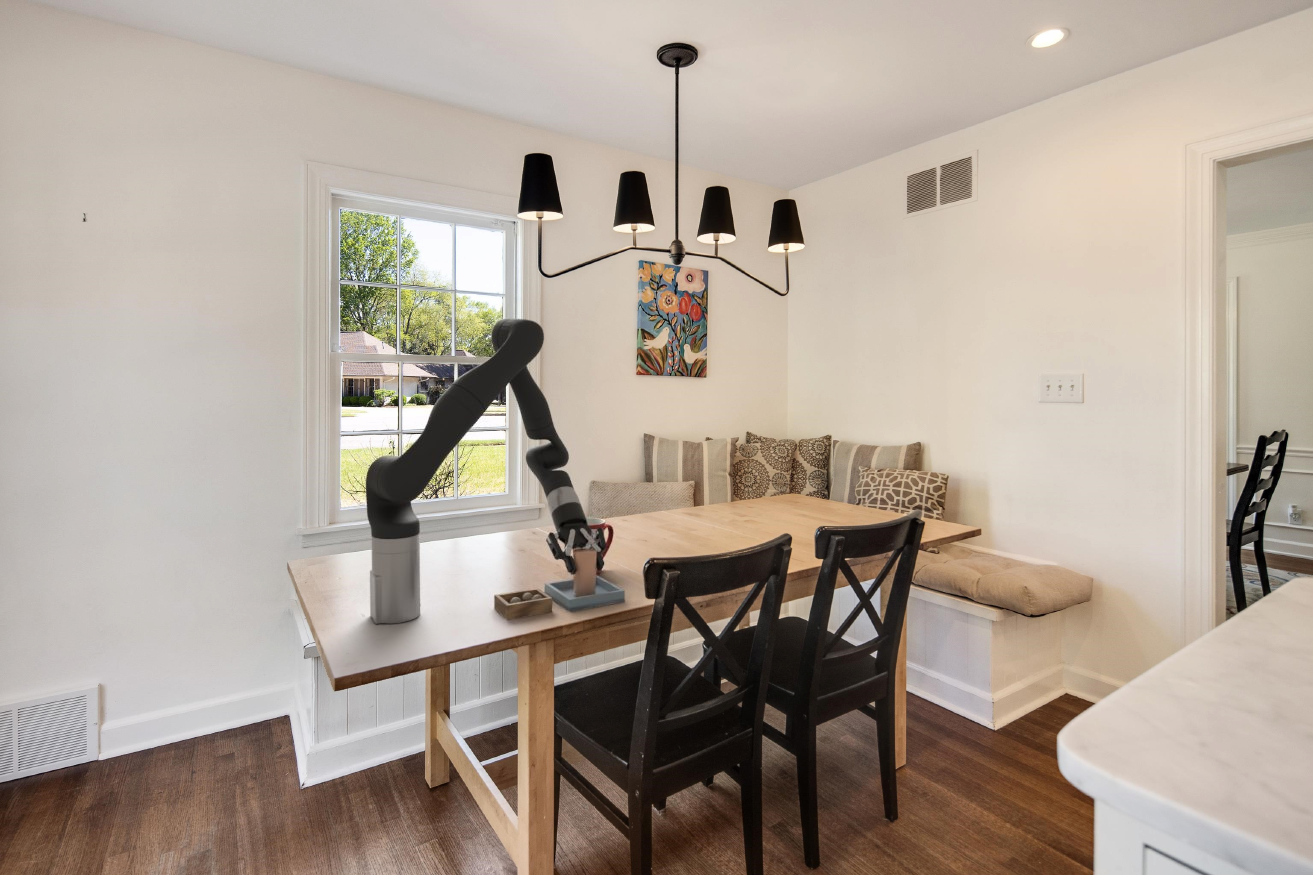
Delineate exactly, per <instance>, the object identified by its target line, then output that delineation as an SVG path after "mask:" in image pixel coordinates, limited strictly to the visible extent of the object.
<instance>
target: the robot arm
mask: <svg viewBox="0 0 1313 875" xmlns="http://www.w3.org/2000/svg"><path fill="white" fill-rule="evenodd" d="M490 339H491V340H490V341H491V345H492V347H493V350H494V354H493V355H492V356H491V357H489V358H488V359H487V360H485V361H484V362H482V363H481V364H478V365H477V366H475V367H473V368H471V369H469V370H468V371H466V372H465V373H464V374H462V375H460V376H459V377H457V378H456V379H455V380H454V381H453V382H452V383H451V384H450V385H449V386H448V387H447V388H446V389H445V391H443V393H442V394H441V395H440V397H438V399H436V401H435V403H434V405H433V406H432V408H431V411H430V414H429V416H428V420H427V422H426V424H425V427H424V429H423V430H422V432H421V434H420V436H418V438H417V439H416V440H415V441H414V442H412V443H413V444H411V446H409V448H407V450H405V452H403V453H402V454H401V455H400V456H399V455H393V454H391V455H388V454H387V455H383V456H379V457H378V458H376V459H375V460H373V462H372V463H371V464H370V466H369V467H368V470H367V472H366V476H365V497H366V498H365V499H366V514H367V517H366V518H367V519H368V520H367V521H368V523H369V526H370V531H371V532H370V533H371V570H369V594H370V595H369V598H370V600H369V603H370V604H369V605H370V606H369V610H370V613H369V614H370V617H371V619H372V621H373V622H374V624H375V625H378V624H399V623H405V622H409V621H412V620H415V619H417V618H418V617H420V615H421V605H422V604H421V546H420V545H421V543H420V542H421V538H420V537H421V536H420V535H421V533H420V532H421V528H420V527H421V526H420V525H421V524H420V520H419V518H418V517H417V516H416V514H415V513H414V510H413V507H412V501H414V500H416V499H417V498H418V497H419V496H420V495H422V493H423V492H424V490H425V489H426V488H427V486H428V485H429V483H431V481H432V479H433V477H434V476H435V475H436V473H437V471H438V470H439V469H440V467H441V465H442V464H443V463H444V462H445V460H446V458H448V456H449V455H450V454H451V452H452V451H453V450H454V449H455V448H456V446H457V445H458V444H459V443H460V442H461V441H462V439H463V438H464V437H465V436H466V434H467V433H468V432H469V431H470V430H471V429H472V427H473V426H475V424H477V422H478V421H479V420H480V418H481V417H482V416H483V415H484V414H485V412H487V410H488V409H489V407H490V406H491V405H492V403H493V402H494V401H495V400H496V399H497V398H498V397H499V395H500V394H501V393H502V392H503V391H504V390H505V388H506V387H507V386H508V385H509V386H510V388H511V390H512V392H513V395H514V397H515V399H516V400H515V401H516V403H517V405H518V408H519V412H520V416H521V419H522V422H523V423H522V424H523V426H524V431H525V434H526V435H527V437H528V438H529V439H530V440H533V441H541V440H544V441H545V440H546V441H549V442H546V443H542V444H538V445H535V446H532V447H530V448H528V450H527V451H526V454H525V461H526V464H527V466H528V468H529V469H530V472H532V474H534V476H535V477H536V478H537V480H538V482H539V483H540V485H541V487H542V490H543V491H544V495H545V497H546V502H547V508H548V511H549V513H550V516H551V520H552V522H553V525H554V528H555V531H556V532H557V533H554V532H549V533H548V535H547V537H546V543H547V546H548V547H549V550H550V551H551V553H552V556H553V558H554V560H557V561H558V560H563V562H564V565H565V568H566V570H567V573H570V575H573V574H575V573H576V571H577V568H576V566H575V563H574V560H573V555H571V554H572V551H573V549H575V548H577V547H578V548H588V549H594V550H596V551H597V558H596V568H597V571H601V570H603V568H604V566H605V561H604V558H602V555H601V554H603V552H604V551H605V549H606V548H607V546H606V541H607V540H606V538H605V532H604V533H603V529H602V528H601V527H599V528H598V529H591V528H590V527H589V526H588V524H587V520H586V518H587V517H586V514H585V512H584V509H583V506H582V504H581V501H580V498H579V495H578V494H577V492H576V490H575V488H574V486H573V485H574V484H573V483H572V481H571V476H570V475H569V474H568V472H567V471H566V470H562V469H561V468H564V467H565V466H567V464H569V459H570V455H569V451H568V449H567V447H566V446H565V444H564V442H563V441H562V439H561V438H560V436H559V434H558V432H557V430H556V428H555V424H554V421H553V417H552V414H551V410H550V406H549V403H548V401H547V398H546V397H545V395H544V392H543V391H542V390H541V388H540V387H539V386H538V384H537V383H536V381H535V379H534V378H533V376H532V374H531V372H530V371H529V369H528V368H529V367H528V365H529V364H530V363H531V362H532V361H533V360H534V359H535V358H536V357H537V356H538V355H539V353H540V352H541V350H542V348H543V345H544V341H545V333H544V329H543V327H542V326H541V325H540V324H539V323H538V322H536V321H534V320H531V319H526V318H511V317H510V318H503V319H502V318H501V319H499V320H498V321H497V322H495V324H494V325H493V327H492V329H491V334H490ZM590 535H593V537H594V539H596V543H597V545H596V543H595V541H594V539H593V538H592V537H591V536H590ZM558 541H560V542H561V543H562V544H564V546H563V550H562V547H561V546H560V543H559V542H558ZM587 543H589V544H587ZM601 572H602V571H601Z"/></svg>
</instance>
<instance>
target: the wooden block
mask: <svg viewBox="0 0 1313 875" xmlns="http://www.w3.org/2000/svg"><path fill="white" fill-rule="evenodd" d="M596 558H597V551H596V550H594V549H588V548H582V549H576V550H574V563H575V566H576V568H577V571H576V573H575V574H573V576H572V579H573V595H574V596H575V597H582V596H588V595H594V594H596V575H597V574H596Z"/></svg>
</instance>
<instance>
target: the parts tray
mask: <svg viewBox="0 0 1313 875" xmlns="http://www.w3.org/2000/svg"><path fill="white" fill-rule="evenodd" d="M493 597H494V598H493V599H494V601H493V602H494V604H493V605H494V606H493V607H494V610H495V611H497V613H499V614H500V616H502V617H503V618H505V619H506V621H508V620H514V619H519V618H524V617H526V618H527V617H530V616H535V615H542V614H546V613H552V612H553V600H552V598H551V597H550V596H549V595H547V594H546V593H545V591H543V590H541V589H540V588H538V587H537V588H536V587H535V588H530V589H523V590H518V591H510V592H505V593H504V592H503V593H497V594H494V596H493Z"/></svg>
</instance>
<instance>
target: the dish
mask: <svg viewBox="0 0 1313 875" xmlns="http://www.w3.org/2000/svg"><path fill="white" fill-rule="evenodd" d="M625 591H626V590H625V589H623V588H621V587H619V586H618V585H616V584H614V583H612V582H610V581H609V580H607V579H605V578H603V577H601V576H599V575H598V574H596V594H594V595H588V596H582V597H575V596H574V595H573V578H570V579H564V580H559V581H552V582H544V593H546V594H547V595H549V596H550V597H551V598H552V602H553V601H554V602H555V603H556V604H557V605H559V606H560V607H562V608H563V609H564V610H567V612H576V611H581V610H586V609H591V608H598V607H604V606H610V605H614V604H620V603H625V601H626V600H625V595H626V592H625Z"/></svg>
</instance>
